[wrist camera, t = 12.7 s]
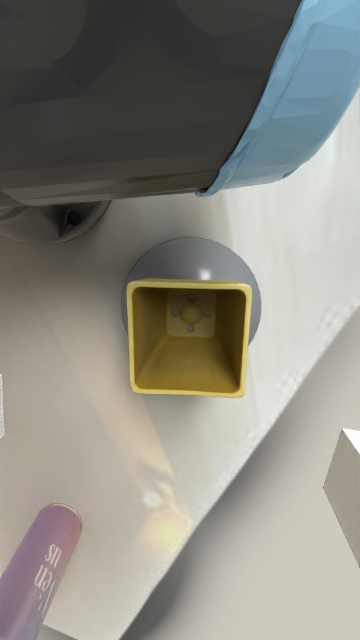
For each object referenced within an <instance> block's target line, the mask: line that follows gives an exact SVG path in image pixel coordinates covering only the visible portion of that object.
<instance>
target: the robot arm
mask: <svg viewBox="0 0 360 640" xmlns="http://www.w3.org/2000/svg"><path fill="white" fill-rule="evenodd" d="M359 87H360V0H0V235H2V236H4V237H6V238H8V239H11V240H14V241H18V242H22V243H28V244H52V243H60V242H64V241H68V240H71V239H73V238H75V237H77V236H79V235H81V234H83V233H84V232H86V231H87V230H88V229H90V228H91V227H92V226H93V225H94V224H95V223H96V222H97V221H98V220H99V218H100V217H101V216H102V214H103V213H104V211H105V210H106V208H107V206H108V204H109V202H110V200H114V199H125V198H137V197H148V196H160V195H171V194H182V193H194V192H195V194H196V196H198V197H204V196H210V195H212V194H214V193H216V192H218V191H219V190H222V189H230V188H237V187H244V186H252V185H259V184H266V183H272V182H275V181H278V180H280V179H283V178H285V177H287V176H289V175H290V174H291V173H293V172H294V171H295V170H296V169H297V168H298V167H299V166H300V165H301V164H303V163H305V162H307V161H308V160H309V159H310V158H312V157H313V156H314V155H315V154H316V152H317V151H318V150H319V149H320V148H321V146H322V145H323V144H324V143H325V141H326V140H327V139H328V138H329V136H330V135H331V134H332V132H333V131H334V129H335V128H336V126H337V125H338V123H339V122H340V120H341V118H342V117H343V115H344V113H345V112H346V110H347V108H348V107H349V105H350V103H351V101H352V100H353V98H354V96H355V94H356V92H357V91H358V89H359ZM3 436H4V410H3V384H2V375H0V439H1V438H2V437H3ZM323 489H324V491H325V493H326V495H327V497H328V499H329V502H330V504H331V506H332V508H333V511H334V513H335V515H336V517H337V519H338V522H339V524H340V526H341V528H342V530H343V533H344V535H345V537H346V539H347V541H348V543H349V546H350V548H351V550H352V552H353V554H354V557H355V559H356V561H357V563H358V565H359V568H360V431H356V430H349V429H342V430H341V433H340V436H339V439H338V442H337V445H336V449H335V452H334V455H333V458H332V461H331V464H330V467H329V471H328V474H327V477H326V480H325V483H324V486H323Z"/></svg>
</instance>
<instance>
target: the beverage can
mask: <svg viewBox="0 0 360 640" xmlns="http://www.w3.org/2000/svg"><path fill="white" fill-rule="evenodd" d="M81 528H82V526H81V520H80V517H79V515H78V513H77V512H76V511H75V510H74V509H73V508H71V507H69V506H67V505H64V504H52V505H49V506H47V507H45V508H44V509H42V510H41V511H40V512H39V514H38V516H37V517H36V519H35V521H34V522H33V524H32V526H31V527H30V529H29V531H28V532H27V534H26V536H25V537H24V539H23V541H22V542H21V544H20V546H19V548H18V549H17V551H16V553H15V554H14V556H13V558H12V559H11V561H10V563H9V564H8V566H7V568H6V569H5V571H4V573H3V574H2V576H1V578H0V640H36V637H37V635H38V632H39V630H40V628H41V625H42V623H43V621H44V618H45V616H46V613H47V611H48V609H49V606H50V604H51V602H52V599H53V597H54V594H55V592H56V590H57V587H58V585H59V583H60V580H61V578H62V575H63V573H64V571H65V568H66V566H67V563H68V561H69V559H70V556H71V554H72V552H73V549H74V547H75V544H76V542H77V540H78V537H79V535H80V532H81Z"/></svg>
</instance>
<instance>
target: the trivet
mask: <svg viewBox="0 0 360 640" xmlns="http://www.w3.org/2000/svg"><path fill="white" fill-rule="evenodd" d="M148 278H159V279H186V280H233V281H237V282H241V283H244V284H248V285H249V286H251V288H252V303H251V316H250V326H249V340H248V345H249V344H250V343H251V341H252V339H253V338H254V336H255V333H256V331H257V329H258V325H259V322H260V316H261V297H260V291H259V288H258V284H257V282H256V279H255V277H254V275H253V273H252V272H251V270H250V268H249V267H248V266H247V264H246V263H245V262H244V261H243V260H242V259H241V258H240V257H239V256H238V255H237V254H236V253H235V252H233V251H232V250H230V249H229V248H227V247H225V246H224V245H222V244H220V243H217V242H214V241H211V240H208V239H203V238H193V237H189V238H179V239H174V240H170V241H167V242H165V243H162V244H160V245H158V246H156V247H154V248H153V249H151V250H150V251H148V252H147V253H146V254H145V255H144V256H143V257H141V258H140V259H139V260H138V262H137V263H136V264H135V265H134V267H133V268H132V270H131V272H130V273H129V275H128V277H127V280H126V282H125V285H124V289H123V293H122V300H121V309H122V317H123V321H124V325H125V328H126V330H127V333H128V314H127V294H126V291H127V285H128V283H130V282H132V281H136V280H142V279H148ZM189 299H190V300H193V299H194V295H192V294H191V295H189ZM172 313H173V315H177V314H178V311H177V310H174V311H173V312H172ZM209 315H210V312H209V311H206V312H205V316H209ZM193 329H194V328H193V326H189V327H188V330H189V331H193Z"/></svg>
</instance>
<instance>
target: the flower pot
mask: <svg viewBox="0 0 360 640" xmlns="http://www.w3.org/2000/svg"><path fill="white" fill-rule="evenodd" d="M126 294H127V314H128V337H129V372H130V387H131V390H132V392H134V393H140V394H178V395H197V396H211V397H225V398H238V397H243V396H244V394H245V382H246V367H247V353H248V340H249V326H250V316H251V303H252V288H251V286H249V285H248V284H244V283H241V282H237V281H233V280H186V279H159V278H148V279H142V280H136V281H132V282H130V283H128V285H127V291H126ZM191 294H192V295H194V299H193V300H190V299H189V295H191ZM174 310H177V311H178V314H177V315H173V313H172V312H173V311H174ZM206 311H209V312H210V315H209V316H205V312H206ZM189 326H193V328H194V329H193V331H189V330H188V327H189Z"/></svg>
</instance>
